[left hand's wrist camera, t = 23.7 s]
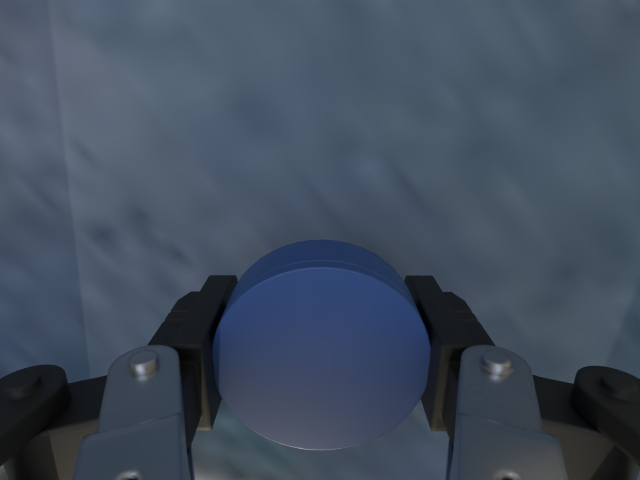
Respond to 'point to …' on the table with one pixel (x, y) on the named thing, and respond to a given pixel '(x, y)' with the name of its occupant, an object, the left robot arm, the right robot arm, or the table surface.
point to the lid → (321, 347)
